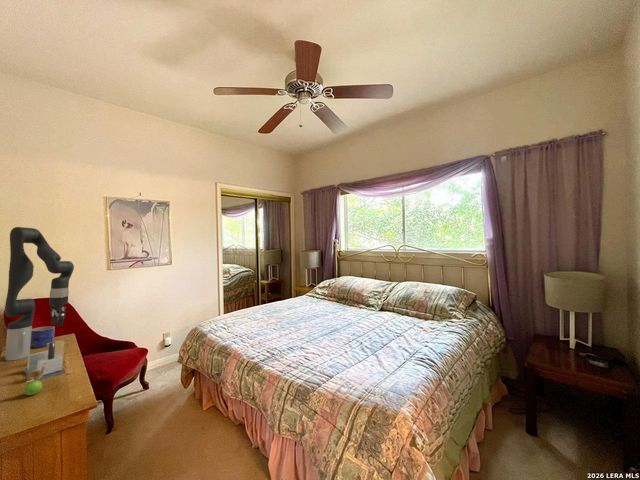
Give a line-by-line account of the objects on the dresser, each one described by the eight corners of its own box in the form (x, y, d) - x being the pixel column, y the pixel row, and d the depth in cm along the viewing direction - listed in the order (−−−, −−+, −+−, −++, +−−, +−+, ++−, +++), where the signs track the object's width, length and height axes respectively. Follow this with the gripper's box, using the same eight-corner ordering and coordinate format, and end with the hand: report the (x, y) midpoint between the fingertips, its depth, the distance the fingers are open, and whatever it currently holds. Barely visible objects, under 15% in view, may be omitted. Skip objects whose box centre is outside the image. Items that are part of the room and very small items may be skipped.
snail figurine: (47, 391, 111) (50, 363, 112) (27, 399, 105) (29, 369, 106) (40, 388, 113) (42, 361, 113) (19, 396, 107) (22, 367, 107)
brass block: (45, 361, 140) (47, 343, 141) (60, 357, 146) (61, 340, 146) (48, 363, 139) (49, 344, 139) (63, 359, 144) (64, 341, 144)
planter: (26, 350, 155) (28, 332, 156) (30, 345, 164) (31, 328, 164) (52, 346, 163) (53, 328, 163) (54, 341, 171) (55, 325, 171)
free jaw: (36, 374, 122) (38, 344, 123) (59, 368, 129) (61, 339, 130) (39, 376, 120) (41, 345, 121) (62, 369, 127) (64, 341, 128)
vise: (23, 372, 128) (24, 355, 128) (51, 364, 137) (52, 348, 137) (36, 381, 119) (37, 362, 120) (64, 372, 128) (66, 355, 128)
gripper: (45, 295, 144) (43, 324, 143) (54, 298, 138) (52, 328, 137) (63, 294, 151) (61, 321, 150) (73, 296, 144) (71, 324, 143)
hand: (57, 324), depth 143 cm, fingers open, 8 cm apart
